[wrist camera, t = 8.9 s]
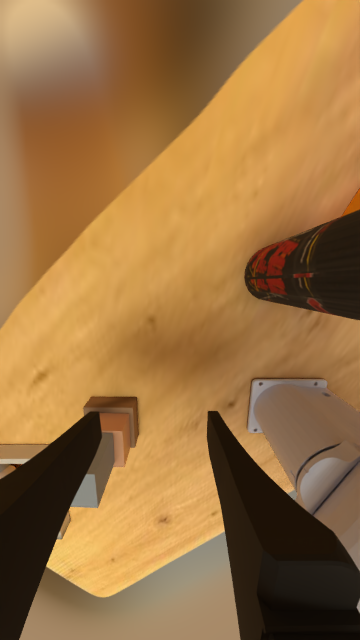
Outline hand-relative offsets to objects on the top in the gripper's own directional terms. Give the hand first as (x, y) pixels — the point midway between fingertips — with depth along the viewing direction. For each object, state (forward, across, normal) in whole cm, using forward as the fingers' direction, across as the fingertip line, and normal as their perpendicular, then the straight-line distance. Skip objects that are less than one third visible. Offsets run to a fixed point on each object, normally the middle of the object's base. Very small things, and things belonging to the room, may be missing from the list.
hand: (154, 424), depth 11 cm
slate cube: (+6, +8, +9) cm, 13 cm away
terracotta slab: (+8, +7, +9) cm, 14 cm away
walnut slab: (+11, +7, +9) cm, 16 cm away
